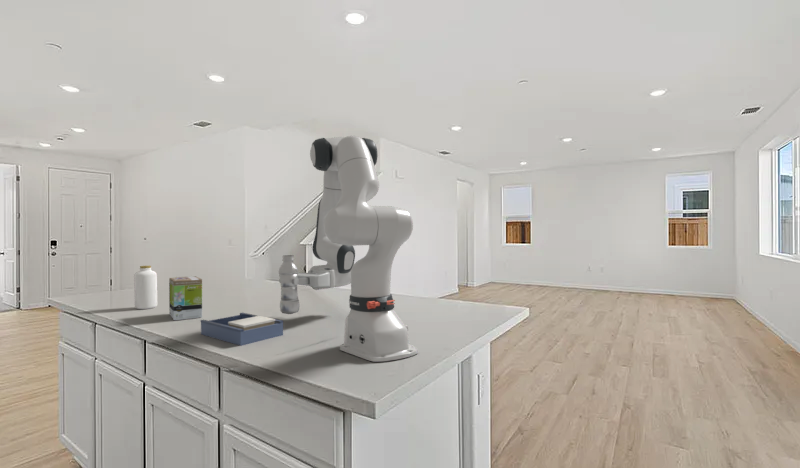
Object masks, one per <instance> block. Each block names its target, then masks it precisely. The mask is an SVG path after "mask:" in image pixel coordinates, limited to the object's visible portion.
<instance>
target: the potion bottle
mask: <svg viewBox="0 0 800 468" xmlns="http://www.w3.org/2000/svg"><path fill="white" fill-rule="evenodd" d="M133 275H134V276H133V278H134V279H133V281H134V283H133V284H134V308H135V309H137V310H149V309H154V308H156V307H158V273H157V272H156V271H155V270H152V265H141V266H139V271H137V272H135V273H134V274H133Z"/></svg>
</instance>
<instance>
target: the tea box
mask: <svg viewBox="0 0 800 468" xmlns="http://www.w3.org/2000/svg"><path fill="white" fill-rule="evenodd" d="M168 282H169V283H168V284H169V287H168V290H169V293H168V294H169V295H168V296H169V298H168V299H169V301H168V303H169V308H168V309H169V315H170V317H171V319H172V320H173V321H182V320H183V321H184V320H190V319H192V320H193V319H199V318H202V317H203V279H202V278H200V277H198V276H176V277H169V281H168Z"/></svg>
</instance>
